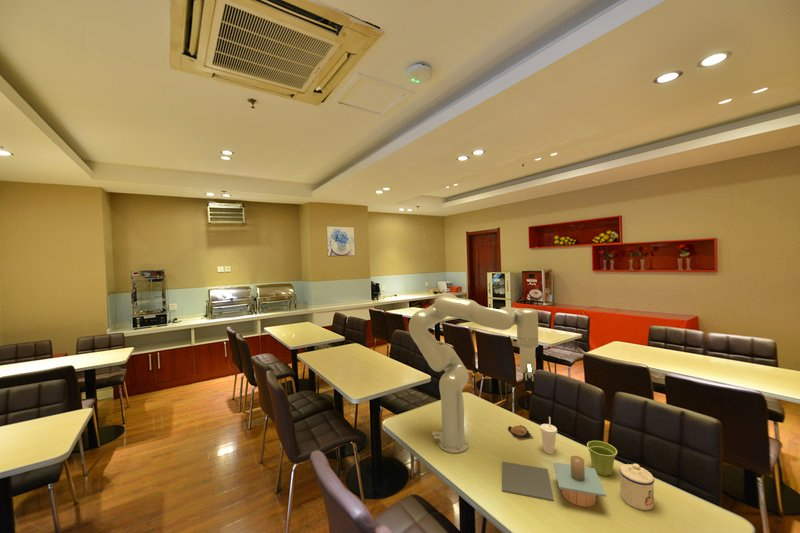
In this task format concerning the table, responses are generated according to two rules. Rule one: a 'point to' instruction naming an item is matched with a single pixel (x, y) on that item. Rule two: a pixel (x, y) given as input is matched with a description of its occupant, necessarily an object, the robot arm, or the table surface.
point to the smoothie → (548, 437)
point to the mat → (526, 481)
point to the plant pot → (602, 457)
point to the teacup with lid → (637, 486)
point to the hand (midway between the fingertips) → (528, 385)
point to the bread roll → (520, 432)
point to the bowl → (579, 498)
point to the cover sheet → (577, 485)
